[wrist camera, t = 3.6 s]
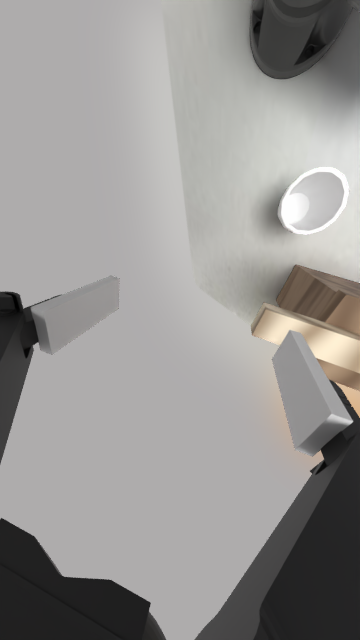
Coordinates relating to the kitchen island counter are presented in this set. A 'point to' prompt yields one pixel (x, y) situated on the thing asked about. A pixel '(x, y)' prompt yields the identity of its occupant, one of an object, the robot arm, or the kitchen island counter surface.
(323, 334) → the mallet
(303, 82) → the kitchen island counter surface
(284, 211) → the foam cup
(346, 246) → the kitchen island counter surface
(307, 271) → the walnut stand
